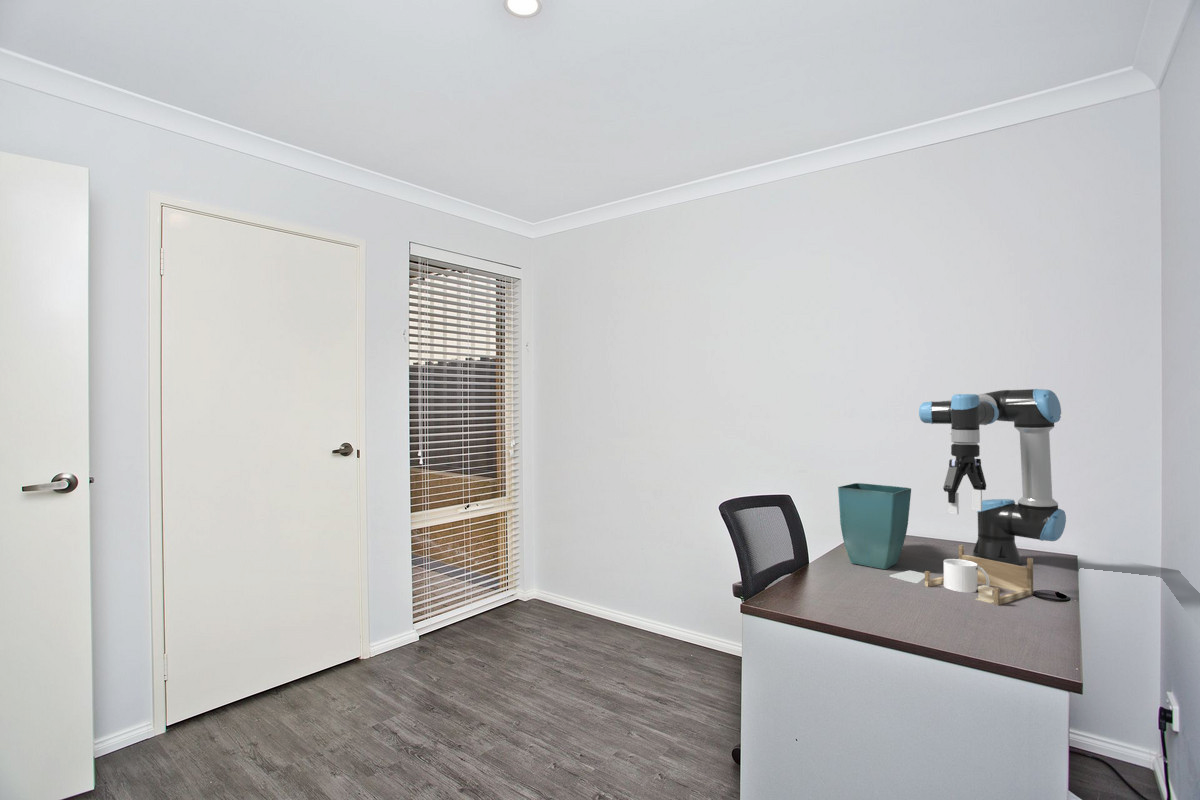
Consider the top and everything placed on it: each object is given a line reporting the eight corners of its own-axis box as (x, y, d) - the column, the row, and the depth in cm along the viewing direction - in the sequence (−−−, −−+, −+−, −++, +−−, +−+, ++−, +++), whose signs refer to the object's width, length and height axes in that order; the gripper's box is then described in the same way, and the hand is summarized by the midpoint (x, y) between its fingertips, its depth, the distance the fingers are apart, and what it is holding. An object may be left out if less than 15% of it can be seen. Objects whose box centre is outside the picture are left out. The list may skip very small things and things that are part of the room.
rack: (961, 581, 196) (960, 544, 196) (1033, 598, 178) (1033, 558, 178) (924, 590, 185) (924, 552, 186) (997, 610, 167) (997, 567, 168)
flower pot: (912, 563, 218) (912, 487, 219) (895, 574, 204) (895, 492, 204) (856, 554, 232) (856, 482, 232) (837, 564, 217) (837, 487, 218)
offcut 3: (983, 603, 176) (983, 596, 176) (1000, 607, 172) (1000, 600, 172) (974, 605, 173) (974, 599, 173) (991, 610, 169) (991, 603, 169)
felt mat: (910, 571, 207) (910, 570, 207) (945, 580, 197) (945, 578, 197) (889, 576, 201) (889, 574, 201) (924, 585, 191) (924, 583, 191)
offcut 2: (980, 596, 175) (980, 589, 175) (996, 599, 173) (996, 592, 173) (978, 599, 172) (978, 592, 172) (994, 602, 170) (994, 595, 170)
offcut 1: (978, 591, 174) (978, 586, 174) (984, 590, 175) (984, 585, 175) (992, 595, 170) (992, 590, 170) (998, 594, 171) (998, 589, 171)
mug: (941, 593, 183) (941, 563, 183) (945, 586, 190) (945, 557, 190) (987, 601, 176) (987, 569, 176) (990, 593, 183) (990, 563, 183)
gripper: (973, 442, 193) (973, 507, 193) (930, 443, 180) (930, 513, 180) (998, 443, 187) (998, 510, 186) (955, 445, 174) (955, 517, 174)
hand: (965, 512), depth 183 cm, fingers open, 13 cm apart
